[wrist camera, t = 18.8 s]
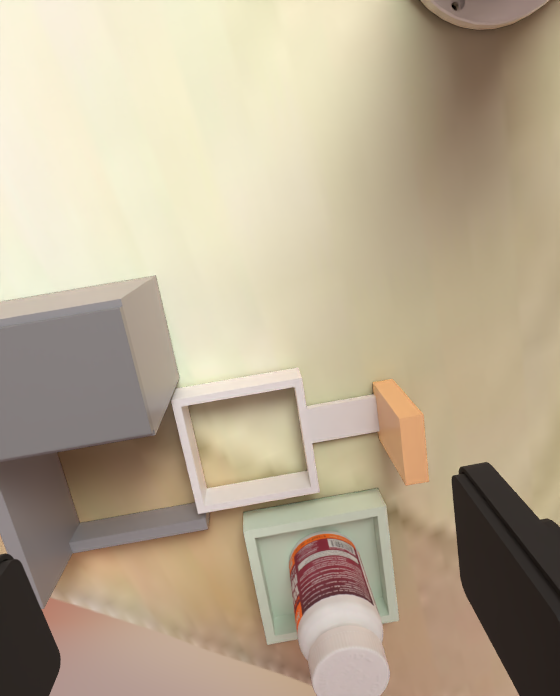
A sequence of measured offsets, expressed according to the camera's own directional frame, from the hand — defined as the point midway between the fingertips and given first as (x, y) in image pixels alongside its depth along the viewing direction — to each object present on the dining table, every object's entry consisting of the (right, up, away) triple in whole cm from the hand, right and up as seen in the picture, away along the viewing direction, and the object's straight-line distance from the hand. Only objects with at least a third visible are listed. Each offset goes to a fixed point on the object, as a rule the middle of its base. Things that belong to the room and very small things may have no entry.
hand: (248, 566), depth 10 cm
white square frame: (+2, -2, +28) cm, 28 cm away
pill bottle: (+4, -14, +32) cm, 35 cm away
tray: (+4, -14, +32) cm, 35 cm away
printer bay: (-13, -1, +27) cm, 30 cm away
